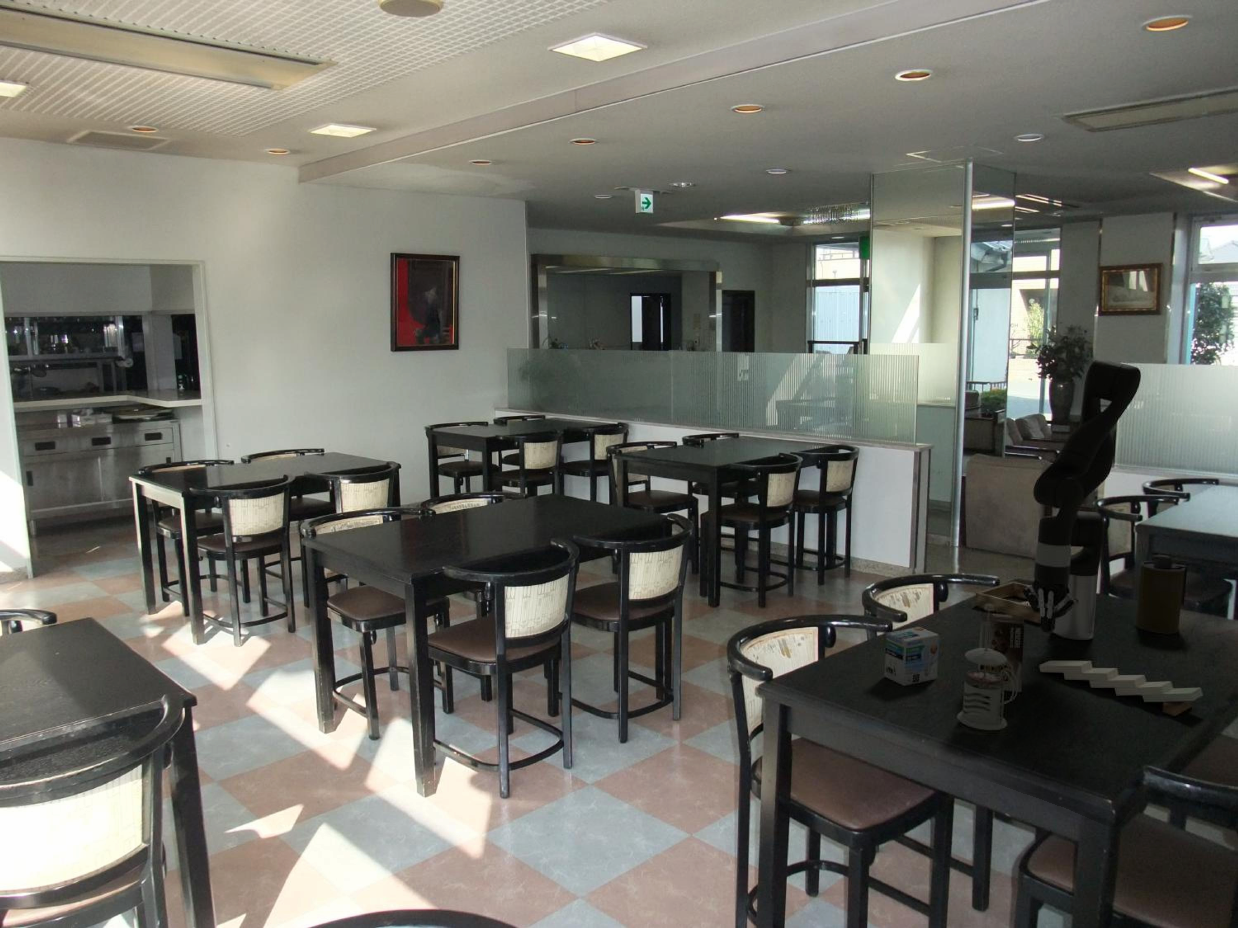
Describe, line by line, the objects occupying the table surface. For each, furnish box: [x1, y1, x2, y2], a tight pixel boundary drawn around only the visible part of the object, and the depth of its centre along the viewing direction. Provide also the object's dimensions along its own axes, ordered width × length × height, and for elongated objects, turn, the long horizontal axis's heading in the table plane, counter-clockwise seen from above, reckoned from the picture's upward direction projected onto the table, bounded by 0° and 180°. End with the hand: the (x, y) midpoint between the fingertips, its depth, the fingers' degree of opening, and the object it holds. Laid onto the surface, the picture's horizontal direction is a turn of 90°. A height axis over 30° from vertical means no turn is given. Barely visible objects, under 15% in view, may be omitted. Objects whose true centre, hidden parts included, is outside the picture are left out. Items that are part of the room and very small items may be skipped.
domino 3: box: [1089, 674, 1147, 689], centre depth 208 cm, size 2×5×10 cm
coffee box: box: [977, 612, 1026, 693], centre depth 211 cm, size 9×6×16 cm
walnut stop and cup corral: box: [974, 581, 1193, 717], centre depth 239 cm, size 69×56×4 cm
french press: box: [956, 604, 1019, 731], centre depth 191 cm, size 10×12×25 cm
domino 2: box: [1063, 667, 1119, 681], centre depth 213 cm, size 2×5×10 cm
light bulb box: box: [884, 626, 940, 686], centre depth 216 cm, size 11×7×11 cm, turn 118°
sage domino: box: [1141, 687, 1204, 703], centre depth 199 cm, size 2×5×10 cm
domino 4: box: [1114, 680, 1174, 696], centre depth 204 cm, size 2×5×10 cm
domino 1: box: [1038, 660, 1094, 674], centre depth 218 cm, size 2×5×10 cm
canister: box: [1134, 554, 1188, 635], centre depth 250 cm, size 11×10×20 cm
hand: (1047, 631), depth 220 cm, fingers closed
